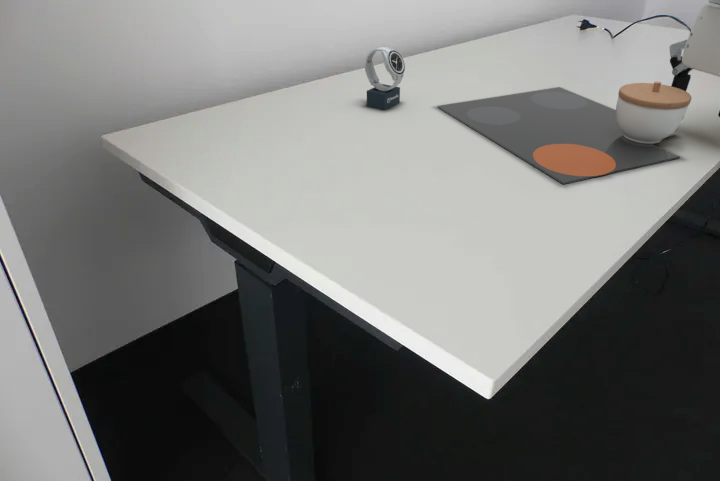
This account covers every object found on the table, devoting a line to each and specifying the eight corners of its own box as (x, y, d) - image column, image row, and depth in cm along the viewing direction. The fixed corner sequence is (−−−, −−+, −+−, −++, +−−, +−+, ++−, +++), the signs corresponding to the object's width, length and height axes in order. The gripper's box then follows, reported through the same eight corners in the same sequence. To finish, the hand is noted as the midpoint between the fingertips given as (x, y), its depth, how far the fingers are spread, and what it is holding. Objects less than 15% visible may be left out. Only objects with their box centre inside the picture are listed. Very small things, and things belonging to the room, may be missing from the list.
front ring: (577, 139, 92) (577, 139, 92) (634, 167, 82) (634, 167, 82) (516, 151, 88) (516, 150, 88) (568, 182, 78) (568, 182, 78)
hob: (559, 88, 117) (559, 87, 116) (711, 151, 88) (711, 149, 88) (437, 107, 107) (437, 105, 107) (563, 184, 78) (563, 182, 78)
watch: (393, 112, 105) (394, 54, 99) (359, 104, 109) (358, 48, 103) (408, 104, 109) (410, 47, 103) (375, 97, 113) (375, 42, 107)
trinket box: (629, 121, 99) (643, 69, 93) (689, 138, 91) (707, 83, 86) (595, 135, 93) (609, 80, 88) (656, 154, 86) (674, 97, 81)
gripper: (814, 4, 76) (764, 121, 85) (706, -13, 89) (673, 90, 98) (778, 7, 73) (731, 127, 83) (672, -10, 87) (642, 94, 96)
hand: (699, 107), depth 90 cm, fingers open, 9 cm apart
